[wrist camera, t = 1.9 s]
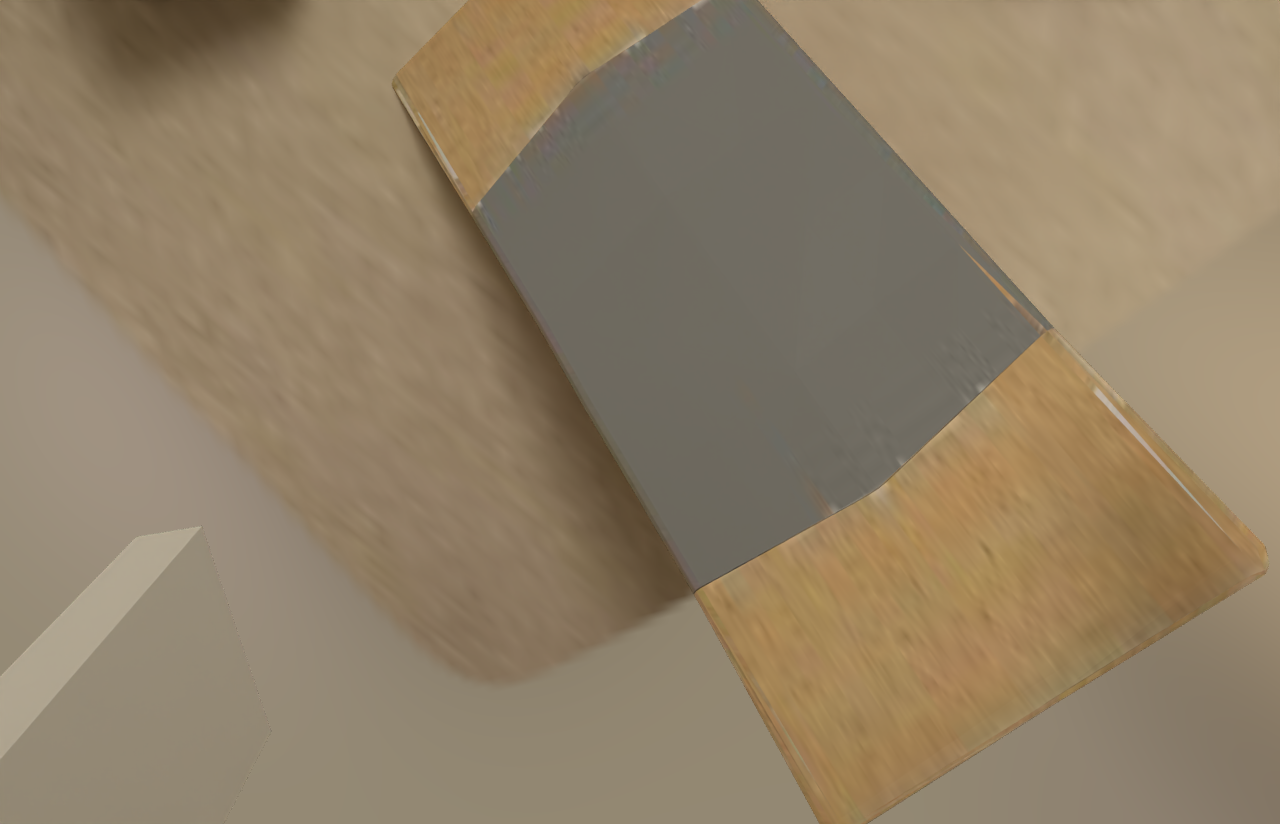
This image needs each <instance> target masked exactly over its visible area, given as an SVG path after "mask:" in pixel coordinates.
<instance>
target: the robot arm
mask: <svg viewBox="0 0 1280 824" xmlns="http://www.w3.org/2000/svg"><path fill="white" fill-rule="evenodd" d="M270 733H271V729H270V726H269V723H268V720H267V717H266V714H265V711H264V709H263V705H262V703H261V699H260V697H259V693H258V690H257V688H256V685H255V682H254V679H253V676H252V673H251V670H250V667H249V664H248V661H247V658H246V655H245V652H244V649H243V646H242V643H241V640H240V637H239V634H238V631H237V628H236V626H235V622H234V619H233V617H232V613H231V610H230V607H229V604H228V602H227V598H226V596H225V593H224V590H223V587H222V584H221V581H220V578H219V575H218V572H217V569H216V566H215V563H214V560H213V557H212V554H211V551H210V548H209V545H208V542H207V539H206V536H205V533H204V530H203V527H202V526H199V527H193V528H187V529H181V530H175V531H169V532H163V533H157V534H151V535H144V536H138V537H136V538H135V539H134V540H133V541H132V542H131V543H130V544H129V545H128V546H127V547H126V548H125V549H124V550H123V551H122V552H121V553H120V554H119V556H117V557H116V558H115V559H114V560H113V561H112V562H111V563H110V565H108V567H106V569H105V570H104V571H103V572H102V573H101V574H100V575H99V576H98V577H97V578H96V579H95V580H94V581H93V582H92V583H91V584H90V585H89V586H88V587H87V588H86V589H85V590H84V591H83V592H82V593H81V594H80V595H79V596H78V597H77V598H76V599H75V600H74V601H73V602H72V603H71V604H70V605H69V606H68V607H67V608H66V610H65V611H64V612H63V613H62V614H61V615H60V616H59V617H58V618H57V619H56V620H55V621H54V622H53V623H52V624H51V625H50V626H49V627H48V628H47V629H46V630H45V631H44V632H43V633H42V634H41V635H40V636H39V637H38V638H37V639H36V640H35V641H34V642H33V643H32V644H31V645H30V647H29V648H27V650H26V651H25V652H24V653H23V654H22V655H21V656H20V657H19V658H18V659H17V660H16V661H15V662H14V663H13V664H12V665H11V666H10V667H9V668H8V669H7V670H6V671H5V672H4V673H3V674H2V675H1V676H0V824H224V822H225V820H226V819H227V817H228V815H229V813H230V811H231V809H232V807H233V805H234V803H235V801H236V799H237V797H238V795H239V793H240V791H241V789H242V787H243V786H244V784H245V782H246V780H247V778H248V776H249V774H250V772H251V770H252V768H253V766H254V764H255V762H256V760H257V758H258V756H259V754H260V753H261V751H262V748H263V746H264V745H265V743H266V741H267V739H268V737H269V735H270Z"/></svg>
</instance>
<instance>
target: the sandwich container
mask: <svg viewBox="0 0 1280 824" xmlns="http://www.w3.org/2000/svg"><path fill="white" fill-rule="evenodd" d="M392 86H393V88H394V90H395V92H396V93H397V95H398V97H399V98H400V100H401V102H402V103H403V105H404V106H405V108H406V110H407V111H408V113H409V115H410V116H411V118H412V119H413V121H414V123H415V124H416V126H417V128H418V129H419V131H420V132H421V134H422V136H423V137H424V139H425V141H426V142H427V144H428V146H429V147H430V149H431V150H432V152H433V154H434V155H435V157H436V159H437V160H438V162H439V163H440V165H441V167H442V168H443V170H444V172H445V173H446V175H447V177H448V178H449V180H450V181H451V183H452V185H453V186H454V188H455V190H456V191H457V193H458V194H459V196H460V198H461V199H462V201H463V203H464V204H465V206H466V208H467V209H468V211H469V213H470V214H471V216H472V218H473V219H474V221H475V223H476V224H477V226H478V228H479V229H480V231H481V233H482V234H483V236H484V238H485V239H486V241H487V243H488V244H489V246H490V247H491V249H492V251H493V252H494V254H495V256H496V257H497V259H498V261H499V262H500V264H501V266H502V267H503V269H504V271H505V272H506V274H507V276H508V277H509V279H510V281H511V282H512V284H513V286H514V287H515V289H516V291H517V292H518V294H519V296H520V297H521V299H522V301H523V302H524V304H525V306H526V307H527V309H528V311H529V312H530V314H531V315H532V317H533V319H534V320H535V322H536V324H537V325H538V327H539V329H540V330H541V332H542V334H543V336H544V337H545V339H546V341H547V343H548V345H549V346H550V348H551V350H552V352H553V353H554V355H555V357H556V359H557V360H558V362H559V364H560V366H561V367H562V369H563V371H564V373H565V375H566V376H567V378H568V380H569V382H570V383H571V385H572V387H573V389H574V390H575V392H576V394H577V396H578V398H579V399H580V401H581V403H582V405H583V406H584V408H585V410H586V412H587V413H588V415H589V417H590V418H591V420H592V422H593V423H594V425H595V427H596V428H597V430H598V432H599V433H600V435H601V437H602V439H603V440H604V442H605V444H606V445H607V447H608V449H609V450H610V452H611V454H612V455H613V457H614V459H615V460H616V462H617V464H618V466H619V467H620V469H621V471H622V472H623V474H624V476H625V477H626V479H627V481H628V482H629V484H630V486H631V487H632V489H633V491H634V493H635V494H636V496H637V498H638V499H639V501H640V503H641V505H642V506H643V508H644V510H645V511H646V513H647V515H648V517H649V518H650V520H651V522H652V523H653V525H654V527H655V529H656V530H657V532H658V534H659V535H660V537H661V539H662V541H663V542H664V544H665V546H666V547H667V549H668V551H669V553H670V554H671V556H672V558H673V559H674V561H675V563H676V565H677V566H678V568H679V570H680V571H681V573H682V575H683V577H684V578H685V580H686V582H687V584H688V585H689V587H690V589H691V590H692V592H693V594H694V596H695V597H696V599H697V601H698V603H699V604H700V606H701V608H702V610H703V611H704V613H705V615H706V617H707V619H708V620H709V622H710V624H711V625H712V627H713V630H714V631H715V633H716V635H717V637H718V639H719V641H720V642H721V644H722V646H723V648H724V650H725V652H726V653H727V655H728V657H729V659H730V661H731V663H732V664H733V666H734V668H735V670H736V671H737V674H738V675H739V677H740V679H741V681H742V682H743V684H744V686H745V688H746V690H747V692H748V694H749V695H750V697H751V699H752V701H753V703H754V705H755V706H756V708H757V710H758V712H759V714H760V715H761V717H762V719H763V721H764V723H765V725H766V727H767V728H768V730H769V732H770V734H771V736H772V738H773V739H774V741H775V743H776V745H777V747H778V748H779V750H780V752H781V754H782V756H783V757H784V759H785V761H786V763H787V765H788V767H789V769H790V770H791V772H792V774H793V776H794V778H795V779H796V781H797V783H798V785H799V787H800V789H801V790H802V792H803V794H804V796H805V798H806V800H807V802H808V803H809V805H810V807H811V809H812V811H813V812H814V814H815V816H816V818H817V820H818V822H819V823H820V824H867V823H869V822H871V821H872V820H874V819H875V818H877V817H878V816H880V815H882V814H883V813H885V812H886V811H888V810H889V809H891V808H892V807H894V806H895V805H897V804H899V803H900V802H902V801H903V800H905V799H906V798H908V797H910V796H911V795H913V794H915V793H916V792H918V791H919V790H921V789H922V788H924V787H926V786H927V785H929V784H930V783H932V782H933V781H935V780H936V779H938V778H940V777H941V776H943V775H944V774H946V773H947V772H949V771H951V770H952V769H954V768H955V767H957V766H959V765H960V764H962V763H963V762H965V761H966V760H968V759H970V758H971V757H972V756H974V755H976V754H977V753H979V752H980V751H982V750H984V749H985V748H987V747H988V746H990V745H991V744H993V743H995V742H996V741H998V740H999V739H1001V738H1002V737H1004V736H1006V735H1007V734H1009V733H1010V732H1012V731H1013V730H1015V729H1017V728H1018V727H1020V726H1021V725H1023V724H1024V723H1026V722H1027V721H1029V720H1031V719H1032V718H1034V717H1035V716H1037V715H1038V714H1040V713H1042V712H1043V711H1045V710H1046V709H1048V708H1050V707H1051V706H1053V705H1054V704H1056V703H1057V702H1059V701H1060V700H1062V699H1064V698H1065V697H1067V696H1069V695H1070V694H1072V693H1073V692H1075V691H1077V690H1078V689H1080V688H1082V687H1083V686H1085V685H1087V684H1088V683H1090V682H1091V681H1093V680H1094V679H1096V678H1098V677H1099V676H1101V675H1103V674H1104V673H1106V672H1108V671H1109V670H1111V669H1112V668H1114V667H1116V666H1117V665H1119V664H1121V663H1122V662H1124V661H1125V660H1127V659H1129V658H1130V657H1132V656H1134V655H1135V654H1137V653H1138V652H1140V651H1142V650H1143V649H1145V648H1146V647H1148V646H1150V645H1151V644H1153V643H1155V642H1156V641H1158V640H1159V639H1161V638H1163V637H1164V636H1166V635H1168V634H1169V633H1171V632H1172V631H1174V630H1176V629H1177V628H1179V627H1181V626H1182V625H1184V624H1185V623H1187V622H1189V621H1190V620H1192V619H1194V618H1195V617H1197V616H1198V615H1200V614H1202V613H1203V612H1205V611H1207V610H1208V609H1210V608H1211V607H1213V606H1215V605H1216V604H1218V603H1219V602H1221V601H1223V600H1224V599H1226V598H1228V597H1229V596H1231V595H1232V594H1234V593H1236V592H1237V591H1239V590H1240V589H1242V588H1244V587H1245V586H1247V585H1249V584H1250V583H1252V582H1253V581H1255V580H1257V579H1258V578H1260V577H1262V576H1263V575H1265V574H1266V572H1267V569H1268V567H1269V560H1268V555H1267V551H1266V547H1265V546H1264V544H1263V543H1262V542H1261V541H1260V540H1259V539H1258V538H1257V537H1256V536H1255V535H1254V534H1253V533H1252V532H1251V531H1250V530H1249V529H1248V528H1247V526H1246V525H1245V524H1244V523H1243V522H1242V521H1241V520H1240V519H1239V518H1238V517H1237V516H1236V515H1235V514H1234V513H1233V512H1232V511H1231V510H1230V509H1229V508H1228V507H1227V506H1226V505H1225V504H1224V503H1223V502H1222V501H1221V500H1220V499H1219V498H1218V497H1217V496H1216V494H1214V492H1213V491H1212V490H1210V488H1209V487H1208V486H1207V485H1206V484H1205V483H1204V482H1203V481H1202V480H1201V479H1200V478H1199V477H1198V476H1197V475H1196V474H1195V473H1194V472H1193V471H1192V470H1191V469H1190V468H1189V467H1188V466H1187V465H1186V464H1185V463H1184V462H1183V460H1182V459H1181V458H1180V457H1179V456H1178V455H1177V454H1176V453H1175V452H1174V451H1173V450H1172V449H1171V448H1170V447H1169V446H1168V445H1167V444H1166V443H1165V442H1164V441H1163V440H1162V439H1161V438H1160V437H1159V436H1158V435H1157V434H1156V433H1155V432H1154V430H1152V428H1151V427H1150V426H1149V425H1148V424H1147V423H1146V422H1145V421H1144V420H1143V419H1142V418H1141V417H1140V416H1139V415H1138V414H1137V413H1136V412H1135V411H1134V410H1133V409H1132V408H1131V407H1130V406H1129V405H1128V404H1127V403H1126V402H1125V401H1124V400H1123V399H1122V397H1121V396H1120V395H1119V394H1118V393H1117V392H1116V391H1115V390H1114V389H1113V388H1112V387H1111V386H1110V385H1109V384H1108V383H1107V382H1106V381H1105V380H1104V379H1103V378H1102V377H1101V376H1100V375H1099V374H1098V373H1097V372H1096V371H1095V370H1094V369H1093V368H1092V367H1091V365H1090V364H1089V363H1088V362H1087V361H1086V360H1085V359H1084V358H1083V357H1082V356H1081V355H1080V354H1079V353H1078V352H1077V351H1076V350H1075V349H1074V348H1073V347H1072V346H1071V345H1070V344H1069V343H1068V342H1067V341H1066V340H1065V339H1064V338H1063V337H1062V336H1061V334H1060V333H1059V332H1058V331H1057V330H1056V329H1055V328H1054V327H1053V326H1052V325H1051V324H1050V323H1049V322H1048V321H1047V320H1046V318H1045V317H1044V316H1043V315H1042V314H1041V313H1040V312H1039V311H1038V310H1037V309H1036V307H1035V306H1034V305H1033V304H1032V303H1031V302H1030V301H1029V300H1028V299H1027V297H1026V296H1025V295H1024V294H1023V293H1022V292H1021V291H1020V290H1019V289H1018V288H1017V286H1016V285H1015V284H1014V283H1013V282H1012V281H1011V280H1010V279H1009V278H1008V277H1007V275H1006V274H1005V273H1004V272H1003V271H1002V270H1001V269H1000V268H999V267H998V266H997V264H996V263H995V262H994V261H993V260H992V259H991V258H990V257H989V256H988V255H987V253H986V252H985V251H984V250H983V249H982V248H981V247H980V246H979V245H978V243H977V242H976V241H975V240H974V239H973V238H972V237H971V236H970V235H969V234H968V232H967V231H966V230H965V229H964V228H963V227H962V226H961V225H960V224H959V222H958V221H957V220H956V219H955V218H954V217H953V216H952V215H951V214H950V213H949V211H948V210H947V209H946V208H945V207H944V206H943V205H942V204H941V203H940V201H939V200H938V199H937V198H936V197H935V196H934V195H933V194H932V193H931V191H930V190H929V189H928V188H927V187H926V186H925V185H924V184H923V183H922V182H921V180H920V179H919V178H918V177H917V176H916V175H915V174H914V173H913V172H912V170H911V169H910V168H909V167H908V166H907V165H906V164H905V163H904V162H903V160H902V159H901V158H900V157H899V156H898V155H897V154H896V153H895V152H894V151H893V149H892V148H891V147H890V146H889V145H888V144H887V143H886V142H885V141H884V140H883V138H882V137H881V136H880V135H879V134H878V133H877V132H876V131H875V130H874V128H873V127H872V126H871V125H870V124H869V123H868V122H867V121H866V120H865V119H864V117H863V116H862V115H861V114H860V113H859V112H858V111H857V110H856V109H855V107H854V106H853V105H852V104H851V103H850V102H849V101H848V100H847V99H846V98H845V96H844V95H843V94H842V93H841V92H840V91H839V90H838V89H837V88H836V86H835V85H834V84H833V83H832V82H831V81H830V80H829V79H828V78H827V77H826V75H825V74H824V73H823V72H822V71H821V70H820V69H819V68H818V67H817V65H816V64H815V63H814V62H813V61H812V60H811V59H810V58H809V57H808V56H807V54H806V53H805V52H804V51H803V50H802V49H801V48H800V47H799V46H798V44H797V43H796V42H795V41H794V40H793V39H792V38H791V37H790V36H789V35H788V33H787V32H786V31H785V30H784V29H783V28H782V27H781V26H780V25H779V23H778V22H777V21H776V20H775V19H774V18H773V17H772V16H771V15H770V14H769V12H768V11H767V10H766V9H765V8H764V7H763V6H762V5H761V4H760V2H759V1H758V0H469V1H468V2H467V3H466V4H465V5H464V6H463V7H462V8H461V9H460V10H459V11H458V12H457V13H456V14H455V15H454V16H453V17H452V18H451V19H450V20H449V21H448V22H447V23H446V24H445V25H444V26H443V27H442V28H441V29H440V30H439V31H438V32H437V33H436V34H435V35H434V36H433V37H432V38H431V39H430V40H429V41H428V42H427V43H426V44H425V45H424V46H423V47H422V48H421V49H420V50H419V52H418V53H417V54H416V55H415V56H414V57H413V58H412V59H411V60H410V61H409V62H408V63H407V64H406V65H405V66H404V67H403V68H402V69H401V70H400V71H399V72H398V73H397V74H396V76H395V77H394V79H393V82H392Z"/></svg>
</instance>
